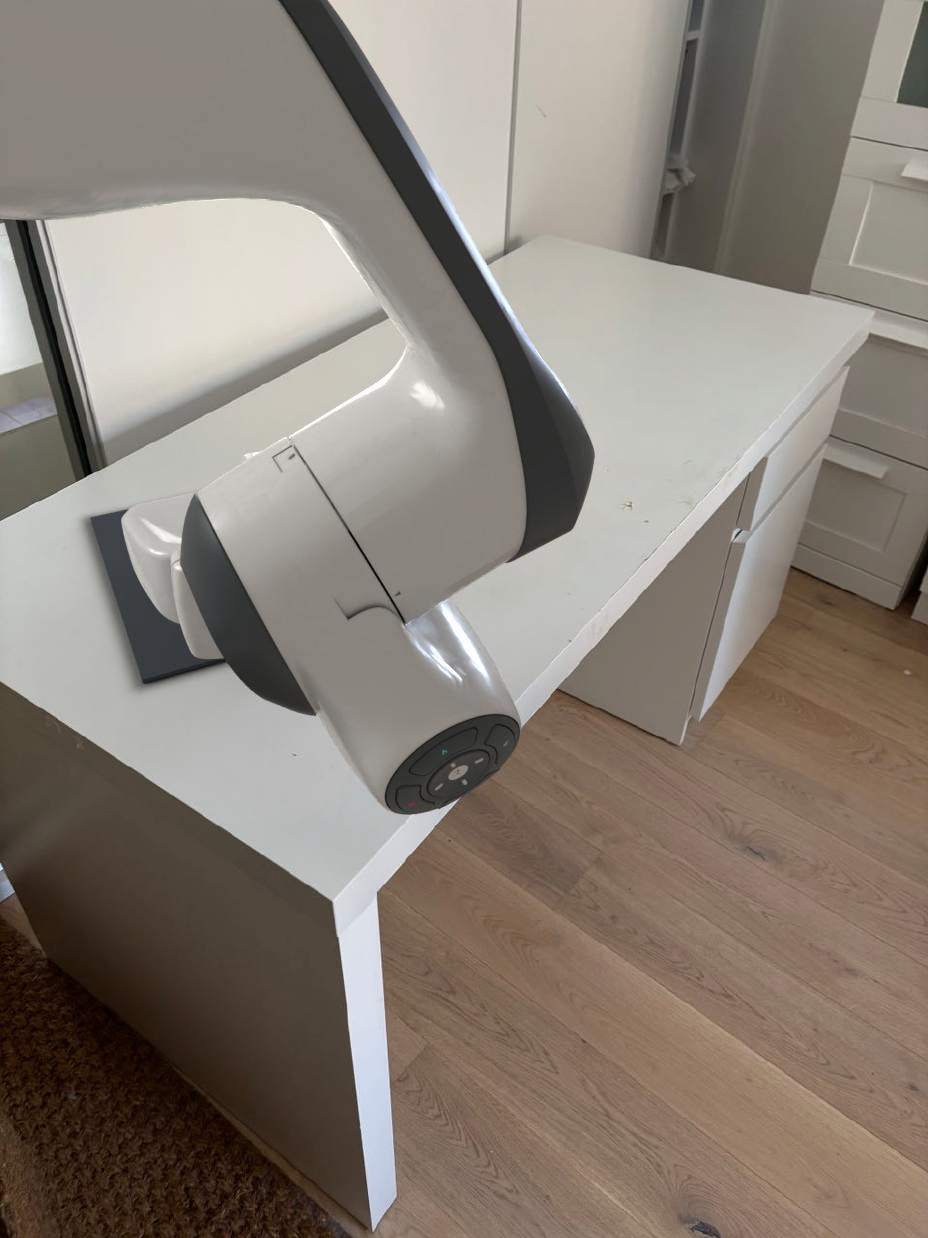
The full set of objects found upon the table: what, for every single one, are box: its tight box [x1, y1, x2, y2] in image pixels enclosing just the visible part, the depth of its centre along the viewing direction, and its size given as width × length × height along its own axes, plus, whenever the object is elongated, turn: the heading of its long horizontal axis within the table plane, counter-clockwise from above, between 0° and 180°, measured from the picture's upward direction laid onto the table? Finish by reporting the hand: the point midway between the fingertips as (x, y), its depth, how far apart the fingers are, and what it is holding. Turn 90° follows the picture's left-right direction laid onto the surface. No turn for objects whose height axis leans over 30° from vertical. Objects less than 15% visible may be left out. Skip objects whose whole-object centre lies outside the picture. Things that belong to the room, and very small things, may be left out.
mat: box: [89, 508, 226, 684], centre depth 85 cm, size 24×24×1 cm
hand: (265, 459), depth 63 cm, fingers closed
